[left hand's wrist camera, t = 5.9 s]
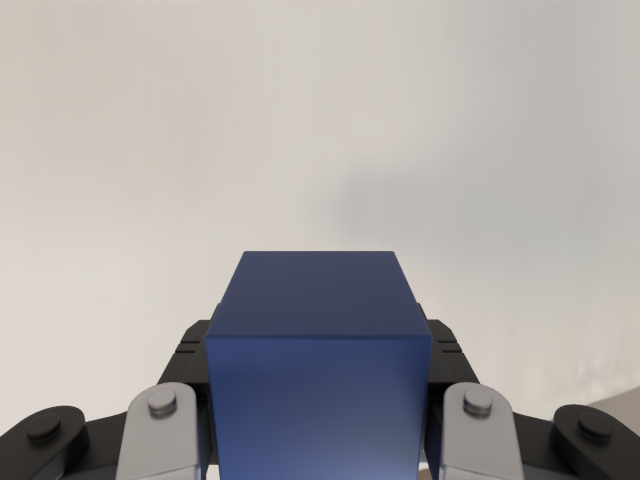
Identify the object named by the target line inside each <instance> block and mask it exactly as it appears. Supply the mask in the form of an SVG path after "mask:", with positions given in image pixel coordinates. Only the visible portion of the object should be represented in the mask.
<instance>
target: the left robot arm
mask: <svg viewBox="0 0 640 480" xmlns="http://www.w3.org/2000/svg"><path fill="white" fill-rule="evenodd" d="M417 304H418V306H419V308H420V311H421V313H422V315H423V317H424V319H425V322H426V324H427V326H428V328H429V330H430V333H431V335H432V337H433V340H432V349H431V358H430V367H429V376H428V386H427V395H426V404H425V413H424V422H423V431H422V440H421V450H420V459H419V464H428V465H429V469H430V472H431V476H432V479H433V480H640V437H639V436H638V435H637V434H635V433H634V432H633V431H631V430H630V429H629V428H627V427H626V426H625V425H624V424H622V423H621V422H620V421H618V420H617V419H615V418H614V417H612V416H610V415H609V414H607V413H605V412H603V411H600V410H598V409H595V408H592V407H589V406H584V405H576V404H572V405H565V406H562V407H560V408H558V409H557V410H556V412H555V414H554V418H553V422H551V421H547V420H542V419H538V418H534V417H529V416H525V415H521V414H518V413H515V412H513V411H512V408H511V405H510V404H509V402H508V401H507V400H506V398H505V397H504V396H502V395H501V394H500V393H499V392H497V391H495V390H494V389H492V388H490V387H488V386H485V385H482V384H480V382H479V381H478V379H477V377H476V375H475V373H474V371H473V369H472V368H471V366H470V364H469V362H468V360H467V358H466V357H465V355H464V353H462V349H461V347H460V345H459V344H458V343H457V340H456V338H455V336H454V334H453V333H452V331H451V329H450V328H448V327H447V326H446V325H445V324H443V323H442V322H441V321H439V320H427V318H426V316H425V313H424V311H423V309H422V307H421V305H420V303H417ZM219 305H220V303H218V305H217V307H216V309H215V311H214V313H213V315H212V317H211V319H210V320H199V321H197V322H196V323H195V324H194V325H192V326H191V327H190V328H188V329H187V330H186V332H185V334H184V336H183V338H182V339H181V341H180V344H179V345H178V347H177V349H176V350H175V353H174V354H173V356H172V358H171V359H170V361H169V363H168V365H167V367H166V368H165V370H164V372H163V374H162V376H161V378H160V379H159V381H158V383H157V385H155V386H152V387H150V388H148V389H146V390H145V391H143V392H141V393H140V394H139V395H138V396H136V397H135V398H134V400H133V401H132V402H131V404H130V405H129V408H128V411H126V412H123V413H121V414H118V415H114V416H110V417H106V418H101V419H97V420H93V421H88V422H86V421H85V417H84V414H83V412H82V411H81V410H80V409H78V408H76V407H73V406H56V407H51V408H47V409H44V410H41V411H39V412H36V413H34V414H32V415H30V416H28V417H27V418H25V419H23V420H22V421H20V422H19V423H18V424H16V425H15V426H14V427H12V428H11V429H10V430H9V431H7V432H6V433H5V434H3V435H2V436H1V437H0V480H207V479H206V473H207V470H208V466H209V465H218V457H217V448H216V439H215V430H214V421H213V412H212V403H211V394H210V385H209V376H208V368H207V359H206V350H205V341H204V337H205V335H206V333H207V330H208V328H209V326H210V324H211V322H212V320H213V317H214V315H215V313H216V311H217V309H218V307H219Z"/></svg>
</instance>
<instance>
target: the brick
mask: <svg viewBox="0 0 640 480" xmlns="http://www.w3.org/2000/svg"><path fill="white" fill-rule="evenodd" d="M432 340H433V337H432V335H431V333H430V330H429V328H428V326H427V324H426V322H425V319H424V317H423V315H422V313H421V311H420V308H419V306H418V304H417V302H416V300H415V297H414V295H413V293H412V291H411V289H410V286H409V284H408V282H407V280H406V278H405V275H404V273H403V271H402V269H401V267H400V264H399V262H398V260H397V258H396V256H395V253H394V252H393V251H245V252H244V253H243V255H242V257H241V259H240V262H239V264H238V266H237V268H236V270H235V272H234V274H233V277H232V279H231V281H230V283H229V285H228V287H227V290H226V292H225V294H224V296H223V298H222V300H221V302H220V305H219V307H218V309H217V311H216V313H215V315H214V317H213V320H212V322H211V324H210V326H209V328H208V330H207V333H206V335H205V337H204V341H205V350H206V359H207V368H208V376H209V385H210V394H211V403H212V412H213V421H214V430H215V439H216V448H217V457H218V466H219V475H220V480H417V477H418V468H419V459H420V450H421V440H422V431H423V422H424V413H425V404H426V395H427V386H428V376H429V367H430V358H431V349H432Z"/></svg>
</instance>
